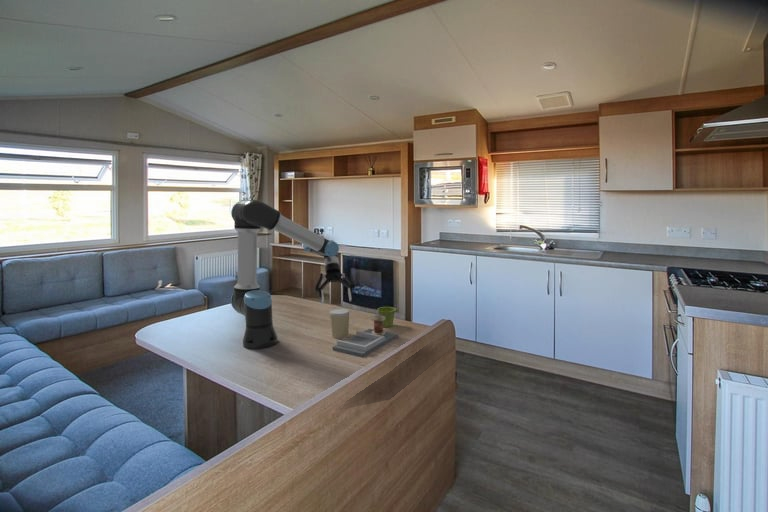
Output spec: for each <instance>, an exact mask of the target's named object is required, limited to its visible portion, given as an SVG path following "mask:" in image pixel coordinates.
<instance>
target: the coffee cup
mask: <svg viewBox="0 0 768 512" xmlns="http://www.w3.org/2000/svg"><path fill="white" fill-rule="evenodd" d="M328 315H329V321H330V329H331V336H332V338H334V339H344V338H347V337H348V336H349V328H350V327H349V326H350V311H349V310H348V309H346V308H333V309H331V310H330V311H329V314H328Z"/></svg>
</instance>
